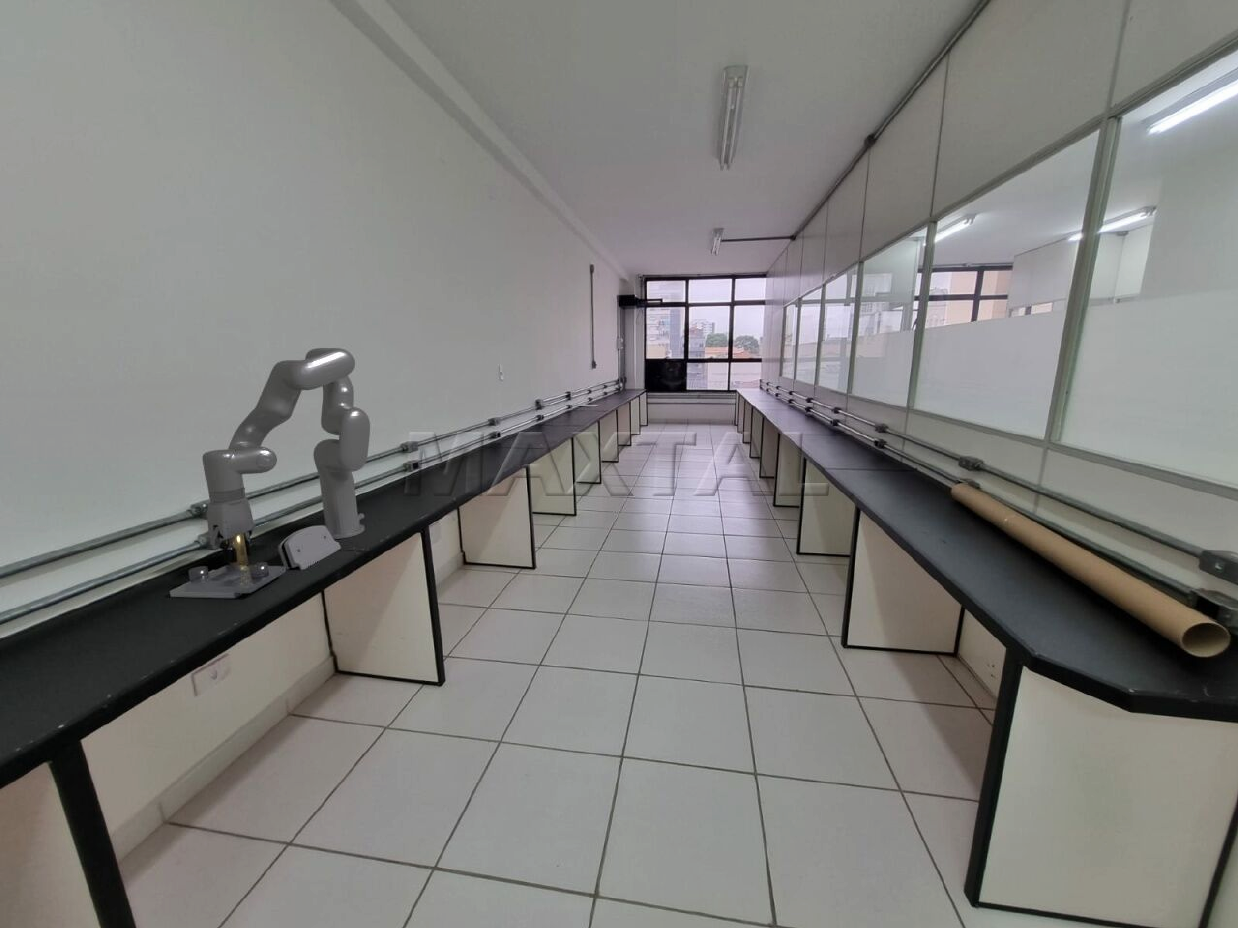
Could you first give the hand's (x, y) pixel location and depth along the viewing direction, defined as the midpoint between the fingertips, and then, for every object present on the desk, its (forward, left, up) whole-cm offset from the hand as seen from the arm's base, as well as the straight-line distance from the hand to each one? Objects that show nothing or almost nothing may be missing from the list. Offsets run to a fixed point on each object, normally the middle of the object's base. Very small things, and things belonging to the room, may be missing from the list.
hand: (238, 558), depth 132 cm
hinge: (-7, +16, -3) cm, 17 cm away
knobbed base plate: (+12, +8, -2) cm, 15 cm away
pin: (0, 0, -2) cm, 2 cm away
